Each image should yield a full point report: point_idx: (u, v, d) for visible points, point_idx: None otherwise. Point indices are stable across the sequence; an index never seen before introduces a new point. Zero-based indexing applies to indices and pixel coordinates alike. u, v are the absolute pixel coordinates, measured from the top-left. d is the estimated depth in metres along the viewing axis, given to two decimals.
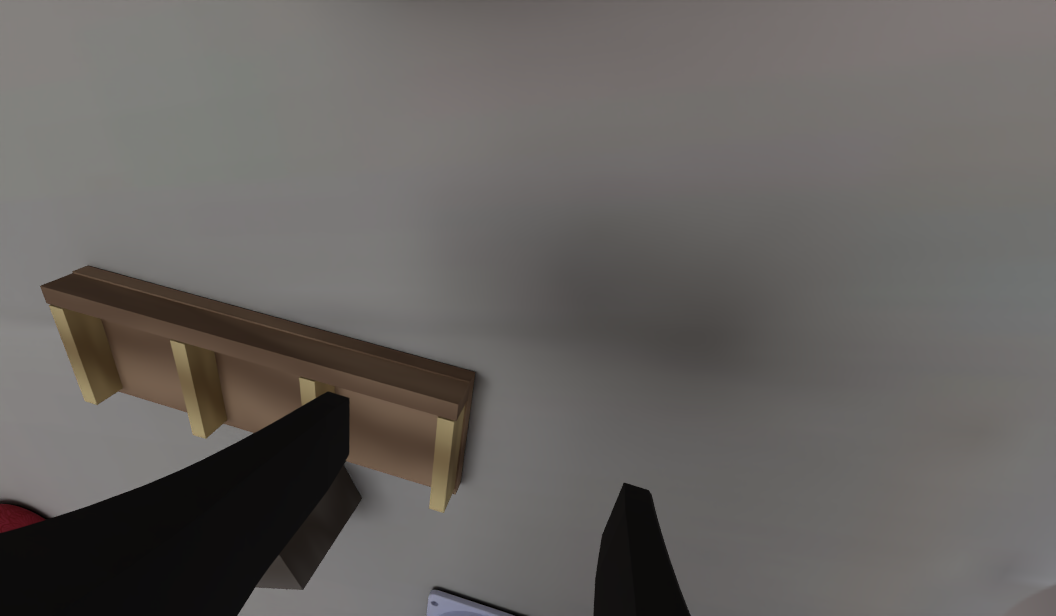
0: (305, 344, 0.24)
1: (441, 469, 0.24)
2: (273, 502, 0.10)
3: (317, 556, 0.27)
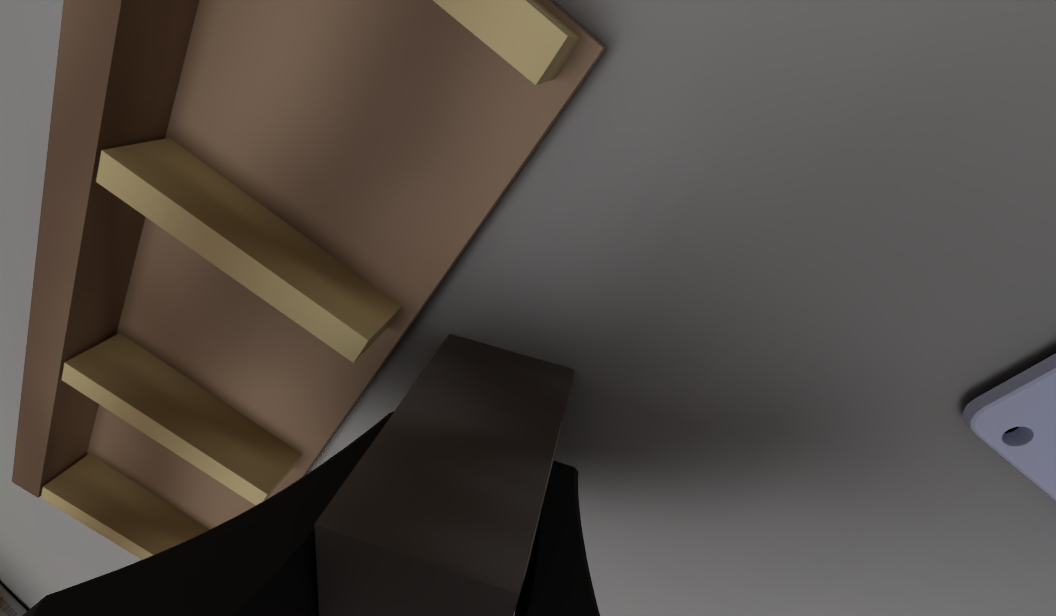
0: None
1: None
2: None
3: (516, 500, 0.09)
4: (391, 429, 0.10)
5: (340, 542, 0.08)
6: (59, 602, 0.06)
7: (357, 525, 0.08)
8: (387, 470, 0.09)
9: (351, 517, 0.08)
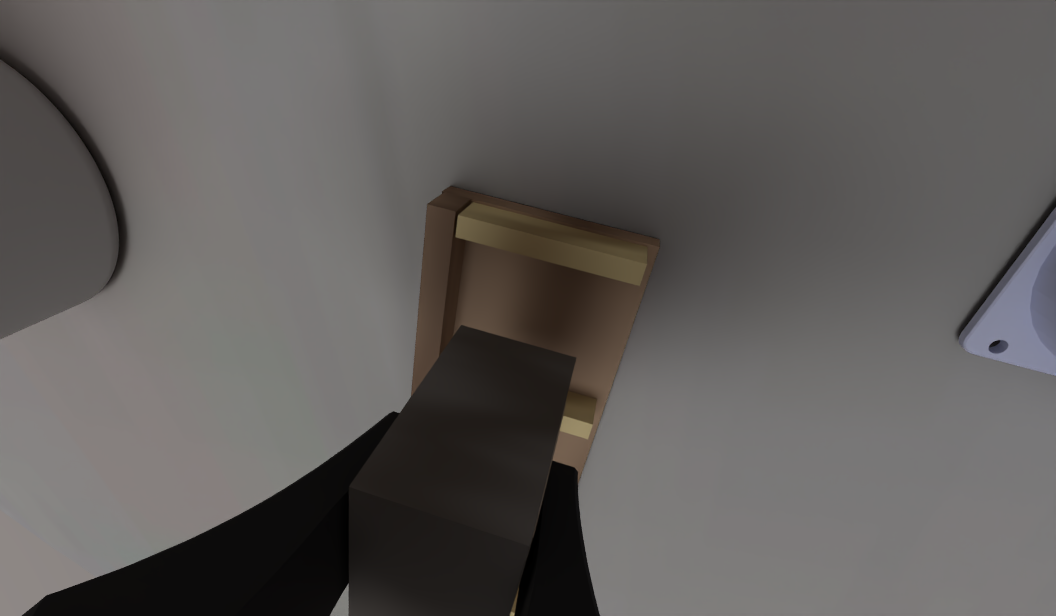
0: None
1: (550, 249, 0.16)
2: None
3: (525, 470, 0.10)
4: (412, 408, 0.11)
5: (371, 503, 0.09)
6: (59, 602, 0.06)
7: (386, 488, 0.09)
8: (410, 442, 0.10)
9: (380, 481, 0.09)
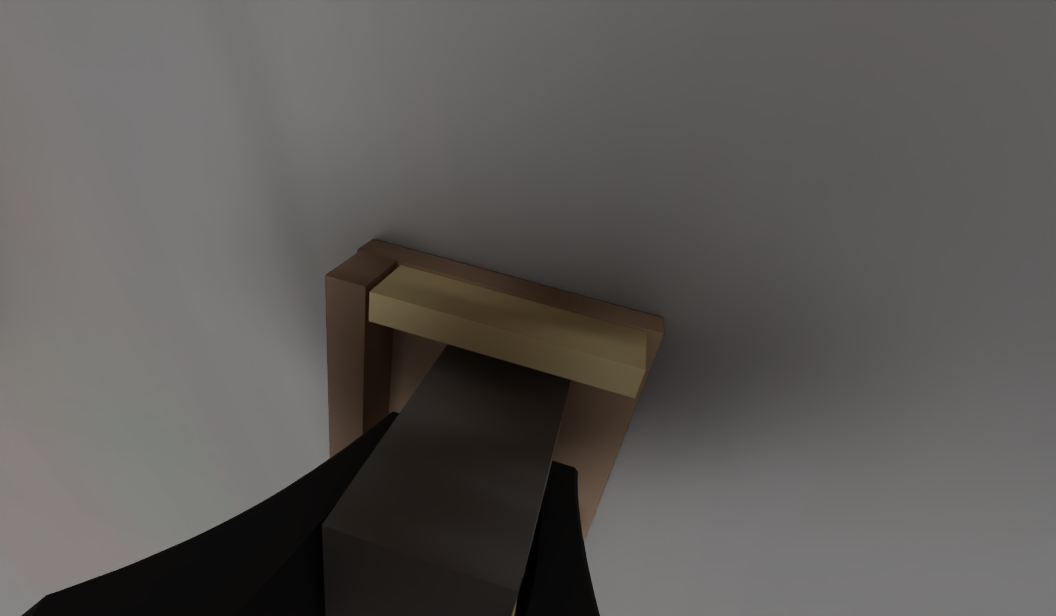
0: None
1: (504, 343, 0.11)
2: None
3: (515, 502, 0.09)
4: (394, 433, 0.10)
5: (346, 542, 0.08)
6: (59, 601, 0.06)
7: (362, 526, 0.08)
8: (391, 473, 0.09)
9: (357, 518, 0.08)
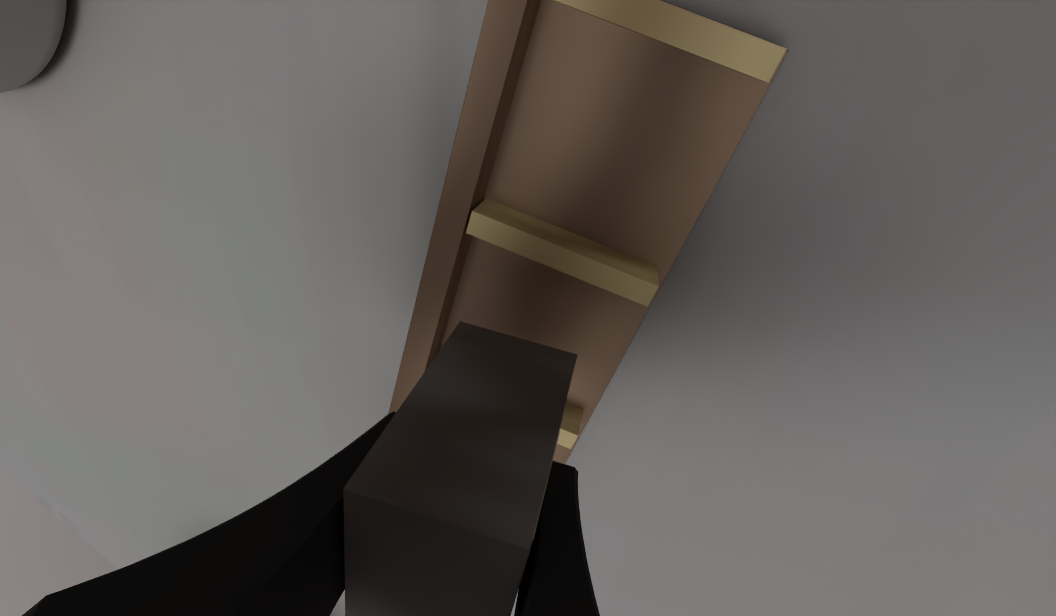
0: None
1: (660, 19, 0.12)
2: None
3: (525, 470, 0.10)
4: (409, 406, 0.11)
5: (366, 505, 0.09)
6: (59, 602, 0.06)
7: (382, 490, 0.09)
8: (407, 442, 0.10)
9: (376, 483, 0.09)
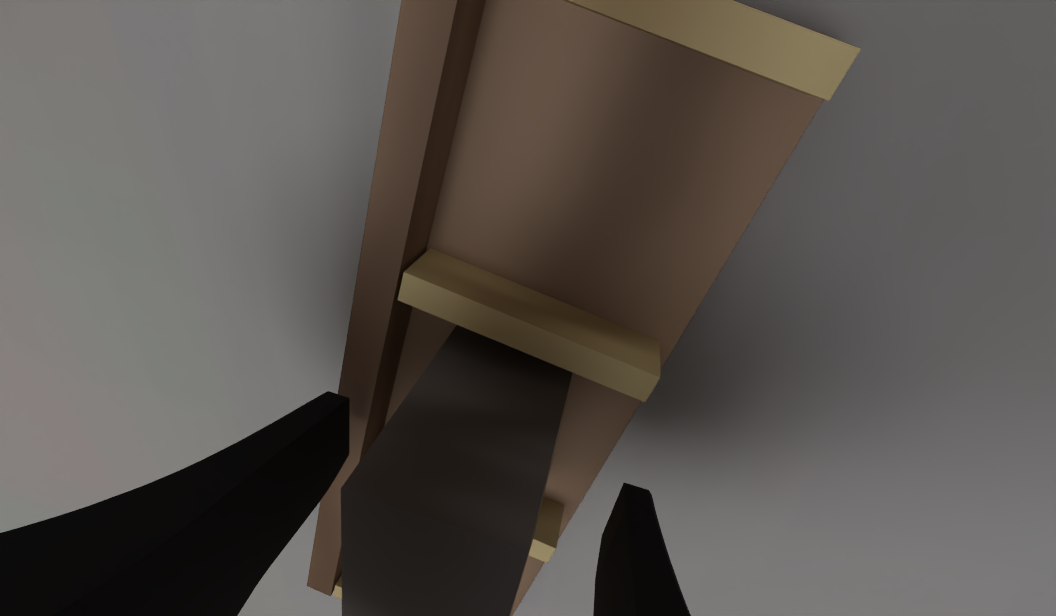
0: None
1: (663, 3, 0.08)
2: (273, 502, 0.10)
3: (524, 471, 0.10)
4: (407, 407, 0.10)
5: (364, 505, 0.09)
6: None
7: (379, 490, 0.09)
8: (405, 443, 0.10)
9: (374, 483, 0.09)
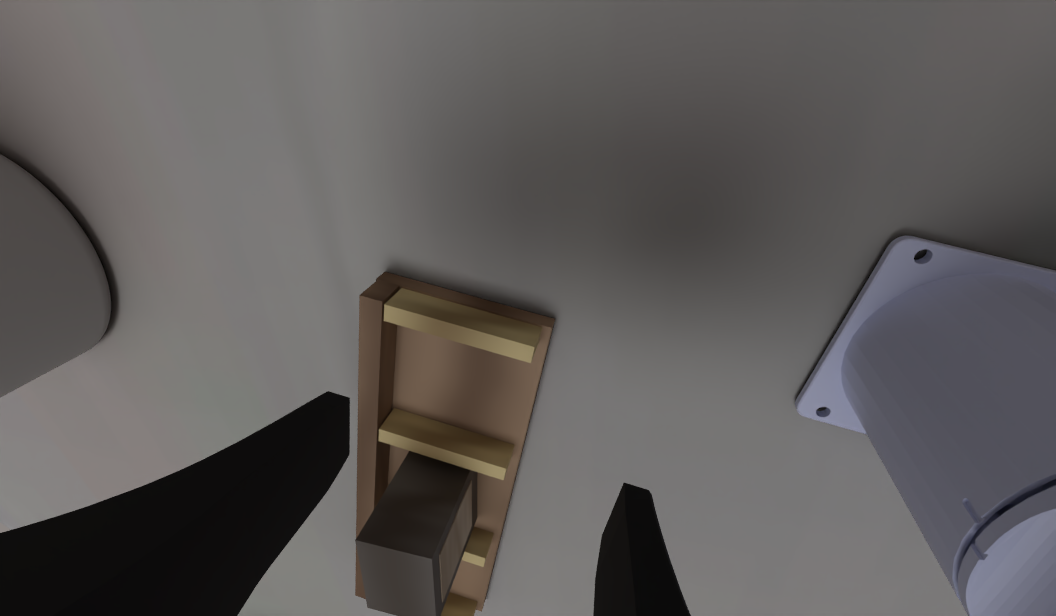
0: None
1: (458, 333, 0.20)
2: (273, 502, 0.10)
3: (436, 523, 0.21)
4: (385, 497, 0.22)
5: (365, 546, 0.21)
6: None
7: (371, 539, 0.21)
8: (383, 516, 0.22)
9: (369, 536, 0.21)
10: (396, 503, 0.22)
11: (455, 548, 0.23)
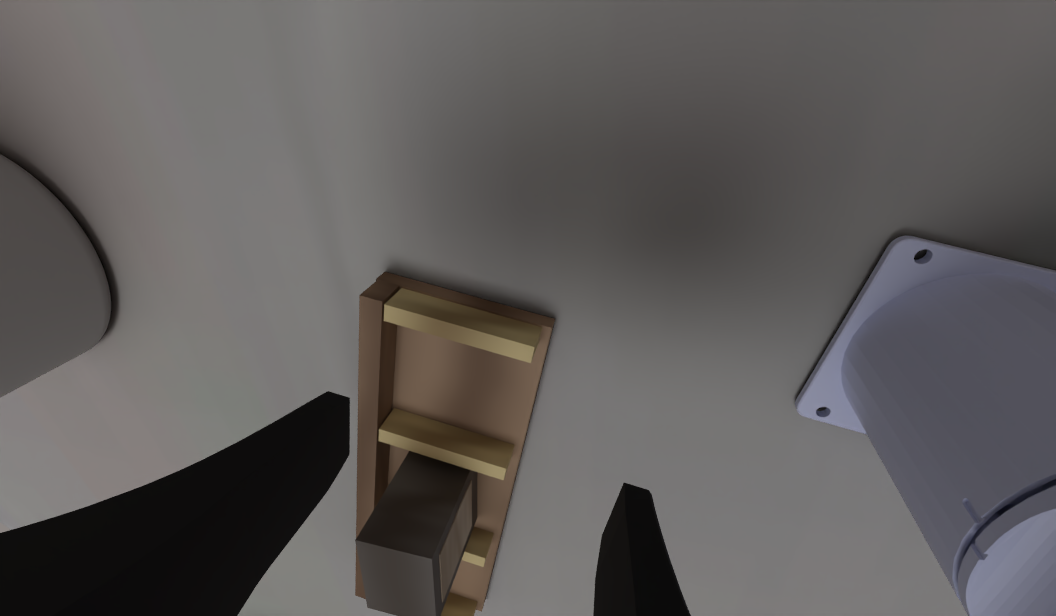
0: None
1: (458, 333, 0.20)
2: (273, 502, 0.10)
3: (436, 523, 0.21)
4: (385, 497, 0.22)
5: (365, 546, 0.21)
6: None
7: (371, 539, 0.21)
8: (383, 516, 0.22)
9: (369, 536, 0.21)
10: (396, 503, 0.22)
11: (455, 548, 0.23)
